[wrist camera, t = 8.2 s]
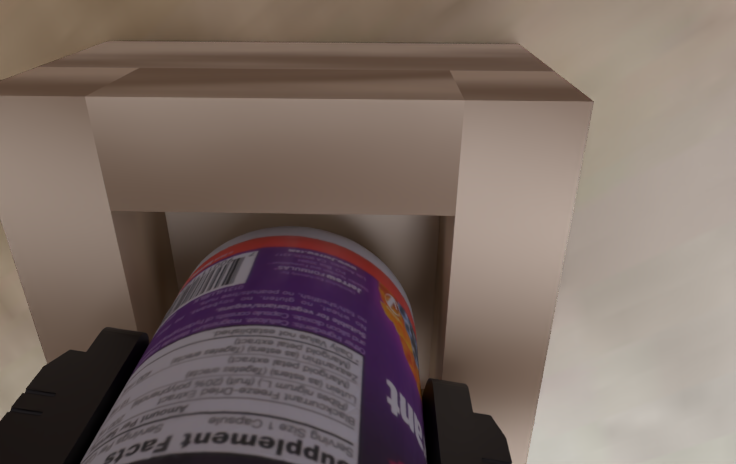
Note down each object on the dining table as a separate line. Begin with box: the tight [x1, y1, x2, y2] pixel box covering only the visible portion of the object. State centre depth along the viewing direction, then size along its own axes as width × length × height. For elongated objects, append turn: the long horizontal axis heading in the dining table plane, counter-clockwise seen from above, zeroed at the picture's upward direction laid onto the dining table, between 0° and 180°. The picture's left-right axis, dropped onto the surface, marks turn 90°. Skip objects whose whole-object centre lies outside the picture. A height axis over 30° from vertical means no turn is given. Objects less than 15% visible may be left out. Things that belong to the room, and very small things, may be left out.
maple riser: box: [0, 41, 594, 464], centre depth 15 cm, size 11×11×6 cm
